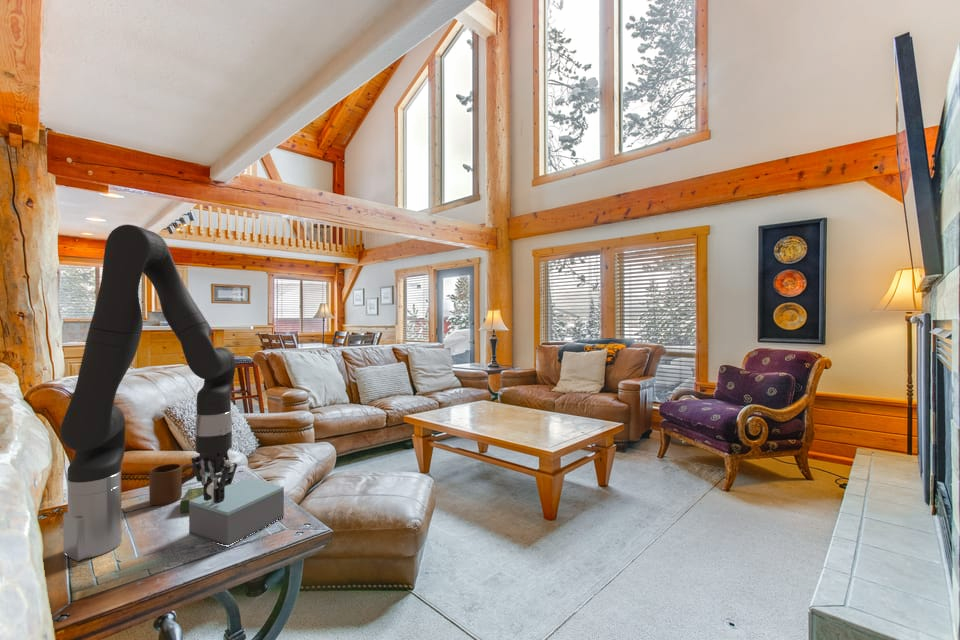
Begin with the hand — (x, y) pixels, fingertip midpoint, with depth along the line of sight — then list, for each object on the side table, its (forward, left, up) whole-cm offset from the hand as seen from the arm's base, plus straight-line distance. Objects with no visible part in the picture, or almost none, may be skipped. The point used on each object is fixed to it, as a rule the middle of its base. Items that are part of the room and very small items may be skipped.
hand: (214, 500), depth 104 cm
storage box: (+6, 0, -9) cm, 11 cm away
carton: (+12, +17, -10) cm, 23 cm away
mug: (+9, +31, -10) cm, 34 cm away
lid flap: (+7, 0, -2) cm, 7 cm away
